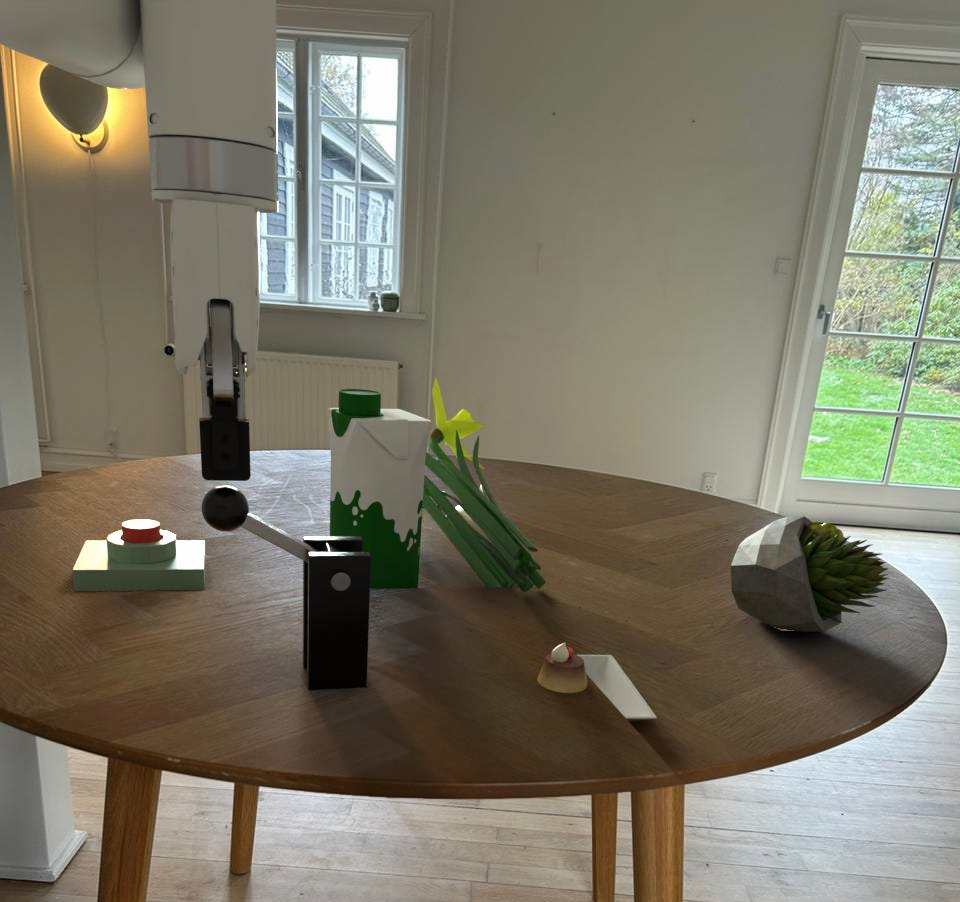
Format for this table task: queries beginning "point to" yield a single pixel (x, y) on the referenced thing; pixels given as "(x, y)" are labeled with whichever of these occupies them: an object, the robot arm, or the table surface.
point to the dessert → (570, 677)
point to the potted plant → (803, 575)
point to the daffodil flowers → (474, 509)
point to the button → (141, 531)
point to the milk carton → (378, 484)
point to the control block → (140, 564)
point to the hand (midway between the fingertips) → (226, 477)
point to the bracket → (336, 613)
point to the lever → (249, 521)
